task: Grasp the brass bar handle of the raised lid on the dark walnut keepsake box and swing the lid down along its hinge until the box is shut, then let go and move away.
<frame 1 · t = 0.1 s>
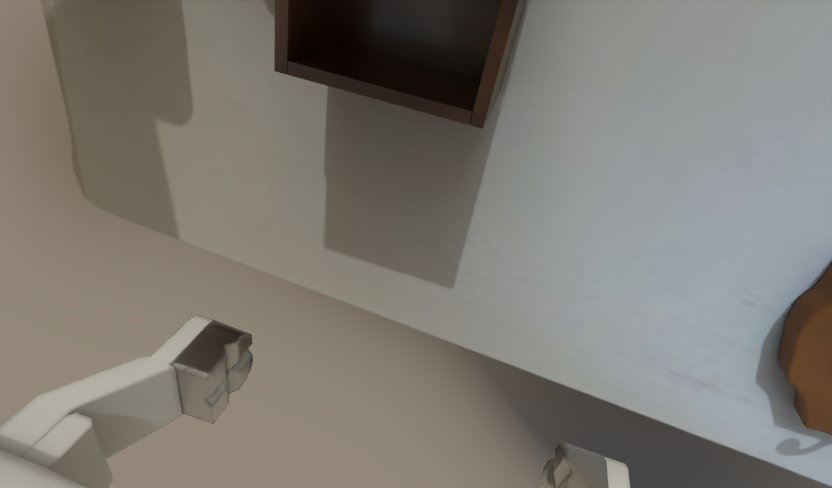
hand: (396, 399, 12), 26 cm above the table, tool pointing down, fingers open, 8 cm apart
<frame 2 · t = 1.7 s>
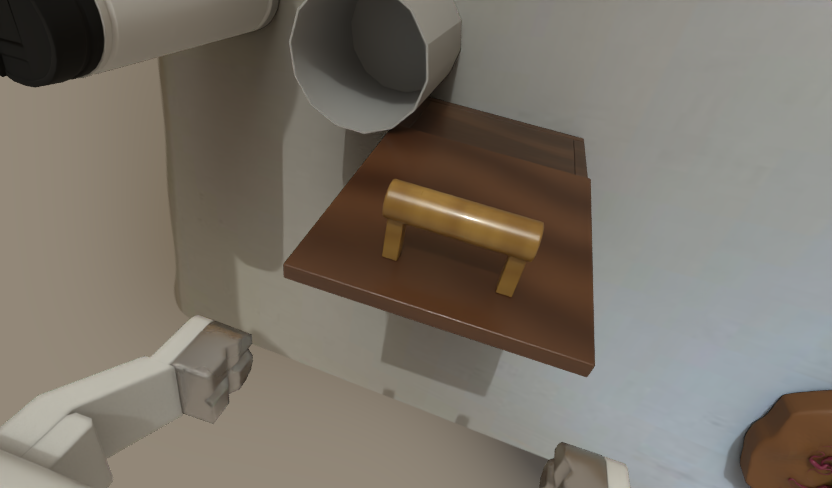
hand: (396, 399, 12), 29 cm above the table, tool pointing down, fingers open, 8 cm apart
keepsake box: (480, 193, 40), on the table
lid: (474, 189, 22), point 16 cm above the table, hinge at 85.0°
cup: (406, 33, 35), on the table
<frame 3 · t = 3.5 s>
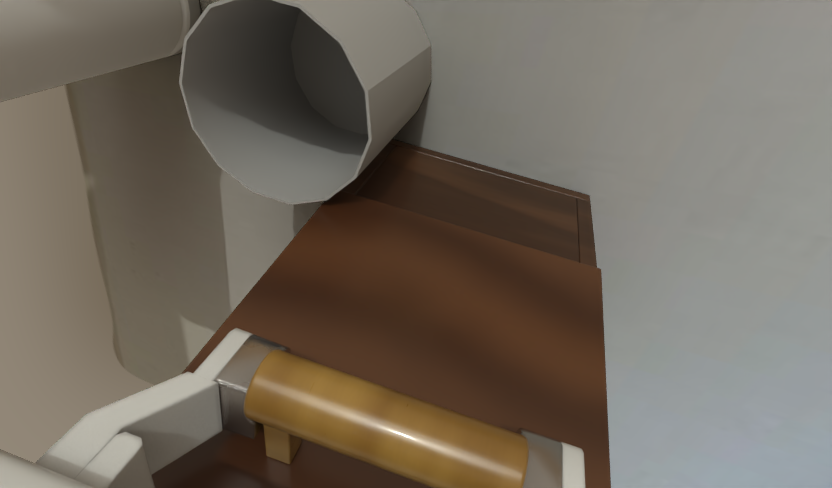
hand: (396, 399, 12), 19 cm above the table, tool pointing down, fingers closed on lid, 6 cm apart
keepsake box: (460, 254, 32), on the table
lid: (428, 318, 15), point 16 cm above the table, hinge at 85.0°, touching gripper
cup: (362, 60, 27), on the table
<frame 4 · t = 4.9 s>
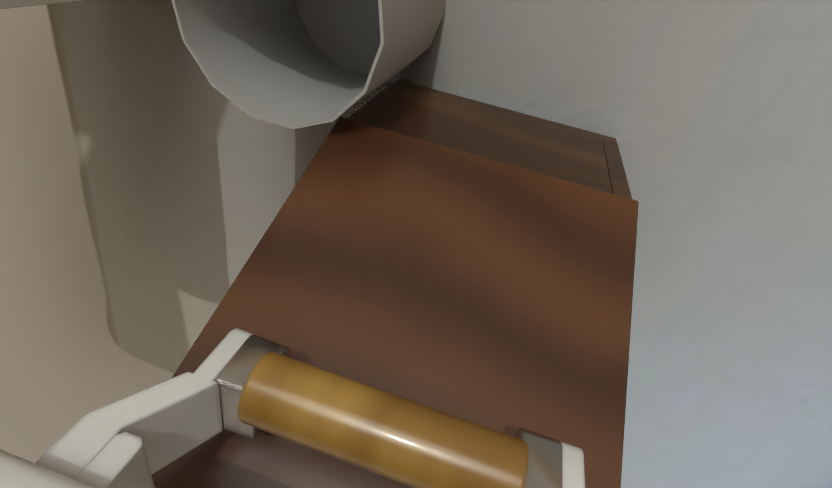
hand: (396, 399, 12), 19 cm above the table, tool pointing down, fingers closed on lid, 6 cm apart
keepsake box: (473, 210, 30), on the table
lid: (437, 284, 14), point 16 cm above the table, hinge at 68.6°, touching gripper
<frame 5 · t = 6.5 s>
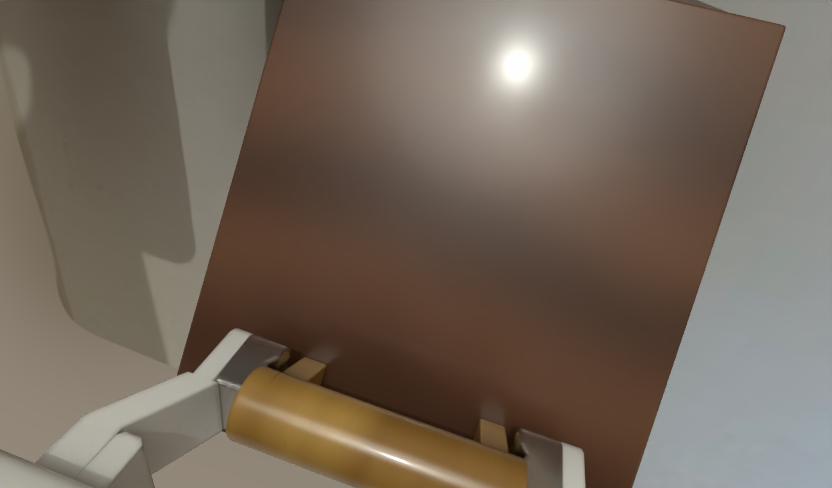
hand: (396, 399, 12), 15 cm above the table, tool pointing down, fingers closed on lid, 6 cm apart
lid: (446, 234, 11), point 14 cm above the table, hinge at 32.2°, touching gripper
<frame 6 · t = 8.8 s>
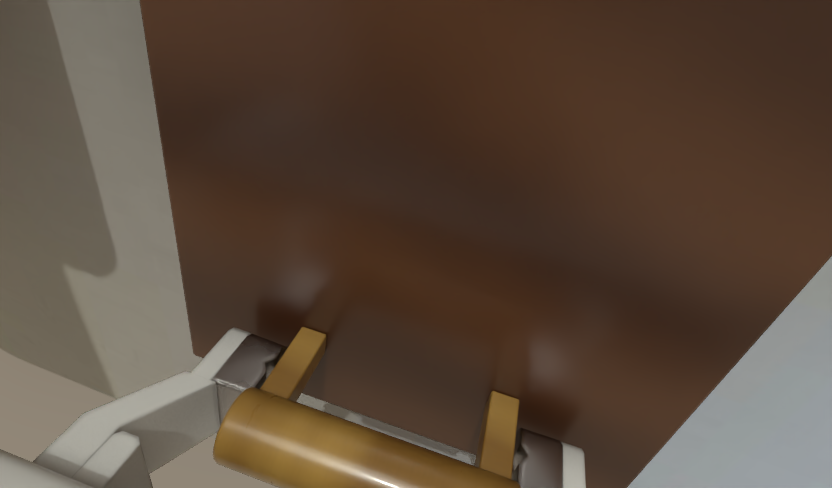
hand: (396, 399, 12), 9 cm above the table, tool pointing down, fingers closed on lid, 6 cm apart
lid: (427, 254, 8), point 10 cm above the table, hinge at -0.2°, touching gripper, keepsake box
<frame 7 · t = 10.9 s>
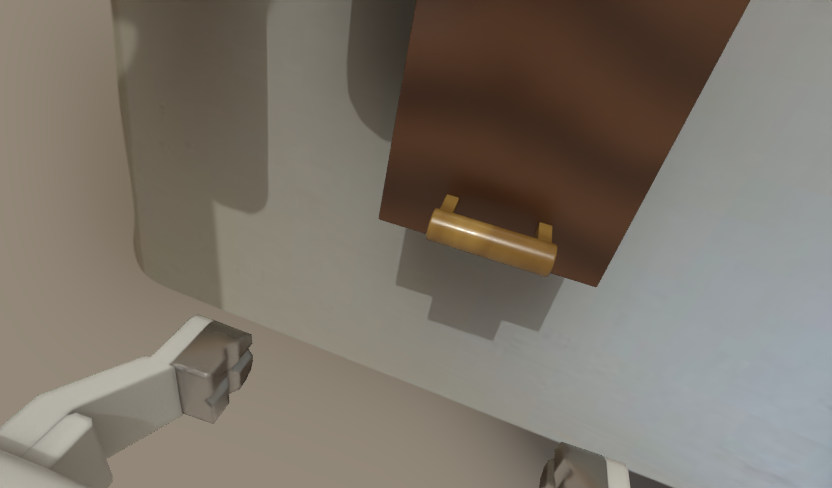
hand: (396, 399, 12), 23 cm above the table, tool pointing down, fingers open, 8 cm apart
lid: (523, 140, 21), point 10 cm above the table, hinge at -0.2°, touching keepsake box
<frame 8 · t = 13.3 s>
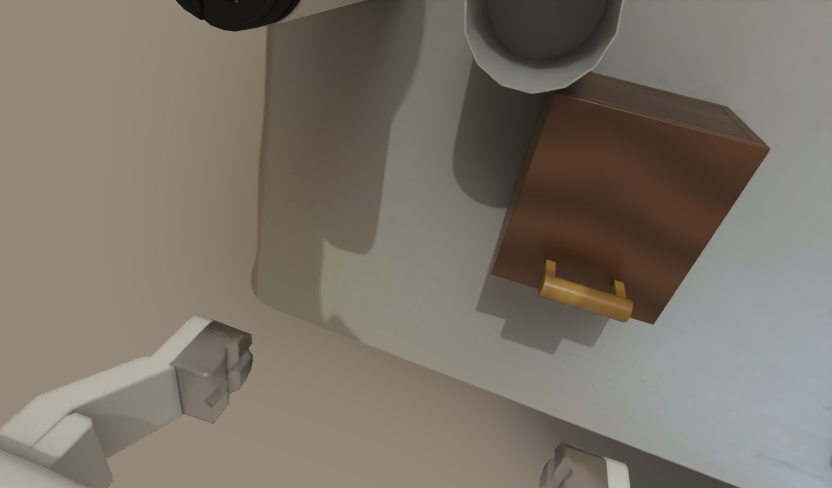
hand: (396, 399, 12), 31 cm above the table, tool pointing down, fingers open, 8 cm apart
keepsake box: (603, 167, 38), on the table
lid: (611, 231, 30), point 10 cm above the table, hinge at -0.2°, touching keepsake box
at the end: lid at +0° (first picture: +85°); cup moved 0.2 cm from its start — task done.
